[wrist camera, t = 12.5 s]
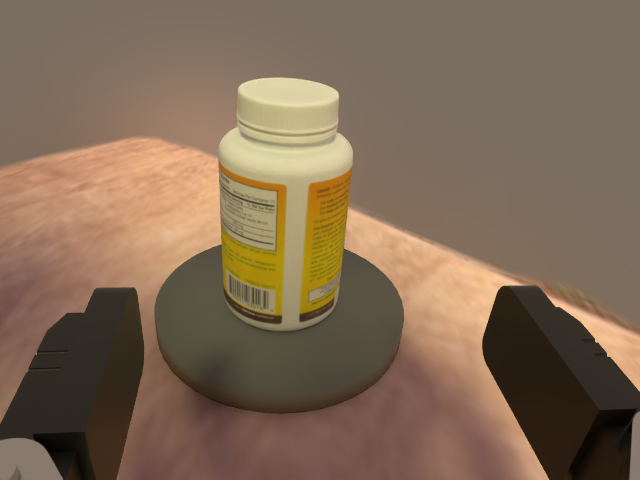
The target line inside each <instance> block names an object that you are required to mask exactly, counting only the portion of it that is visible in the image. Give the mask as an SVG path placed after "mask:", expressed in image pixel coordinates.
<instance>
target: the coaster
mask: <svg viewBox="0 0 640 480" xmlns="http://www.w3.org/2000/svg"><path fill="white" fill-rule="evenodd" d="M403 322H404V309H403V305H402V301H401V298H400V296H399V294H398V291H397V290H396V288H395V287H394V285H393V284H392V282H391V281H390V280H389V279H388V278H387V276H386V275H385V274H384V273H383V272H381V271H380V270H379V269H378V268H377V267H376V266H374V265H373V264H371V263H370V262H369V261H367V260H366V259H364V258H362V257H360V256H358V255H357V254H355V253H352V252H350V251H348V250H346V249H343V258H342V268H341V277H340V287H339V295H338V300H337V303H336V305H335V307H334V309H333V310H332V312H331V313H330V314H329V315H328V316H327V317H326V318H324V319H323V320H322V321H320V322H319V323H317V324H315V325H312V326H310V327H307V328H304V329H300V330H294V331H270V330H264V329H260V328H257V327H254V326H252V325H249V324H247V323H245V322H244V321H242V320H240V319H239V318H238V317H237V316H236V315H234V313H233V312H232V311H231V310H230V308H229V307H228V305H227V303H226V300H225V296H224V289H223V263H222V245H219V246H216V247H213V248H211V249H208V250H205V251H203V252H201V253H199V254H197V255H195V256H194V257H192V258H190V259H189V260H187V261H186V262H184V263H183V264H182V265H180V266H179V267H178V268H177V269H176V270H175V271H174V272H173V273H172V274H171V275H170V276H169V277H168V278H167V279H166V281H165V282H164V284H163V285H162V287H161V289H160V291H159V294H158V296H157V299H156V304H155V324H156V332H157V339H158V344H159V348H160V351H161V353H162V355H163V358H164V360H165V361H166V363H167V364H168V366H169V367H170V369H171V370H172V371H173V372H174V373H175V374H176V375H177V376H178V377H179V378H180V379H181V380H182V381H183V382H184V383H186V384H187V385H188V386H190V387H191V388H192V389H194V390H195V391H197V392H199V393H201V394H203V395H204V396H206V397H208V398H210V399H213V400H215V401H218V402H220V403H223V404H225V405H229V406H233V407H237V408H240V409H245V410H251V411H258V412H269V413H292V412H304V411H310V410H316V409H321V408H325V407H328V406H331V405H335V404H338V403H341V402H343V401H345V400H348V399H350V398H352V397H354V396H356V395H358V394H359V393H361V392H363V391H365V390H366V389H368V388H369V387H370V386H372V385H373V384H374V383H375V382H377V381H378V380H379V379H380V378H381V377H382V376H383V374H384V373H385V372H386V371H387V370H388V369H389V367H390V365H391V364H392V362H393V361H394V359H395V356H396V354H397V351H398V348H399V343H400V338H401V333H402V328H403Z"/></svg>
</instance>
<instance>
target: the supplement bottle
mask: <svg viewBox="0 0 640 480" xmlns="http://www.w3.org/2000/svg"><path fill="white" fill-rule="evenodd" d="M338 103H339V94H338V92H337V91H336V90H335V89H333V88H331V87H329V86H327V85H324V84H321V83H317V82H312V81H308V80H301V79H293V78H263V79H256V80H251V81H248V82H245V83H243V84H242V85H240V86H239V89H238V111H237V114H236V115H237V118H238V121H237V126H238V127H236V128H234V129H233V130H231V131H229V132H228V133H227V134H226V135H225V136H224V138H223V139H222V140H221V142H220V145H219V156H218V159H219V183H220V214H221V238H222V263H223V289H224V296H225V300H226V303H227V305H228V307H229V308H230V310H231V311H232V312H233V313H234V315H236V316H237V317H238V318H239V319H240V320H242V321H244V322H245V323H247V324H249V325H252V326H254V327H257V328H260V329H264V330H270V331H294V330H300V329H304V328H307V327H310V326H312V325H315V324H317V323H319V322H320V321H322V320H323V319H324V318H326V317H327V316H328V315H329V314H330V313H331V312H332V310H333V309H334V307H335V305H336V303H337V300H338V295H339V287H340V277H341V268H342V258H343V249H344V240H345V230H346V220H347V211H348V202H349V193H350V184H351V174H352V165H353V164H352V163H353V151H352V148H351V145H350V144H349V142H348V141H347V140H346V139H345V138H344V137H343V136H342V135H341V134H339V133H338V132H336V131H337V124H338Z"/></svg>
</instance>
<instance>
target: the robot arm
mask: <svg viewBox="0 0 640 480" xmlns="http://www.w3.org/2000/svg"><path fill="white" fill-rule="evenodd" d="M482 349H483V356H484V359H485V362H486V364H487V366H488V368H489V370H490V372H491V374H492V375H493V377H494V379H495V381H496V383H497V385H498V386H499V388H500V390H501V392H502V394H503V396H504V397H505V399H506V401H507V403H508V405H509V407H510V408H511V410H512V412H513V414H514V416H515V418H516V419H517V421H518V423H519V425H520V427H521V429H522V430H523V432H524V434H525V436H526V438H527V439H528V441H529V443H530V445H531V447H532V449H533V450H534V452H535V454H536V456H537V458H538V460H539V461H540V463H541V465H542V467H543V469H544V471H545V472H546V474H547V476H548V478H549V480H640V392H639V391H638V389H637V388H636V387H635V386H634V385H633V383H632V382H631V381H630V380H629V379H628V377H627V376H626V375H625V374H624V373H623V372H622V370H621V369H620V368H619V367H618V366H617V364H616V363H615V362H614V361H613V360H612V359H611V357H607V353H606V351H605V350H604V349H603V348H602V347H601V346H600V344H599V343H598V342H597V343H595V338H594V337H593V336H592V335H591V334H590V333H589V331H588V330H587V329H586V328H585V327H584V325H583V324H582V323H581V322H580V321H578V320H577V319H576V318H574V317H573V316H571V315H570V314H569V313H567V312H566V311H564V310H563V309H561V308H560V307H555V306H554V304H553V303H552V302H551V301H550V300H549V298H548V297H547V296H546V295H545V293H544V292H543V291H542V290H541V289H540V288H539V287H538V286H502V287H501V288H500V289H499V291H498V292H497V295H496V298H495V301H494V304H493V308H492V311H491V314H490V317H489V320H488V323H487V326H486V330H485V333H484V336H483V342H482ZM143 364H144V341H143V334H142V326H141V319H140V311H139V303H138V296H137V291H136V289H135V288H96V289H95V290H94V292H93V294H92V296H91V299H90V301H89V303H88V306H87V308H86V310H85V313H67V314H66V315H64V316H63V317H62V318H61V319H60V320H59V321H58V322H57V323H55V324H54V325H53V326H52V327H51V328H50V329H49V330H48V331H47V332H46V334H45V336H44V338H43V340H42V342H41V344H40V346H39V348H38V350H37V355H35V356H34V358H33V360H32V362H31V364H30V366H29V371H28V373H26V374H25V376H24V378H23V380H22V382H21V384H20V386H19V388H18V390H17V392H16V394H15V396H14V398H13V400H12V402H11V404H10V406H9V408H8V410H7V412H6V414H5V416H4V418H3V420H2V422H1V424H0V480H116V479H117V475H118V471H119V467H120V463H121V458H122V454H123V450H124V446H125V442H126V438H127V434H128V430H129V425H130V421H131V417H132V413H133V409H134V405H135V401H136V396H137V392H138V388H139V384H140V380H141V376H142V371H143Z"/></svg>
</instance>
